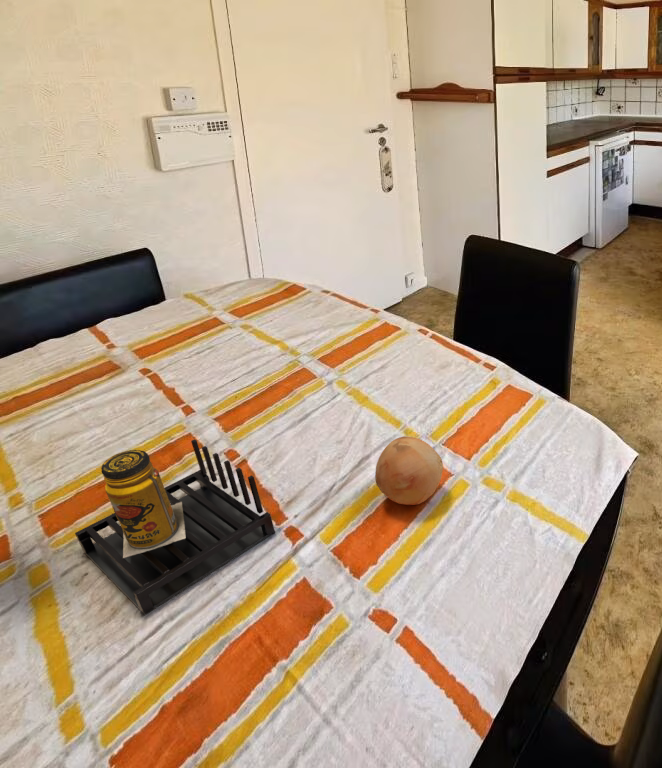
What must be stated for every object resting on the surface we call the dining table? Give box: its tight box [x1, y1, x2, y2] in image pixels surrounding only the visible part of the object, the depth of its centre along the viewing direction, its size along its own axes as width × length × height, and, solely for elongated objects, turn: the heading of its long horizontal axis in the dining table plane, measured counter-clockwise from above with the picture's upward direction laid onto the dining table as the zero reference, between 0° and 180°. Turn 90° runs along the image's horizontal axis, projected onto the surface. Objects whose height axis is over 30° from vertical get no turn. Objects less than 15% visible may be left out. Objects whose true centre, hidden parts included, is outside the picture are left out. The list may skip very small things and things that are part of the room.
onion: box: [374, 436, 444, 506], centre depth 91 cm, size 10×10×10 cm
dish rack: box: [74, 439, 276, 616], centre depth 84 cm, size 18×18×9 cm
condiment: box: [101, 449, 186, 558], centre depth 81 cm, size 7×8×12 cm
